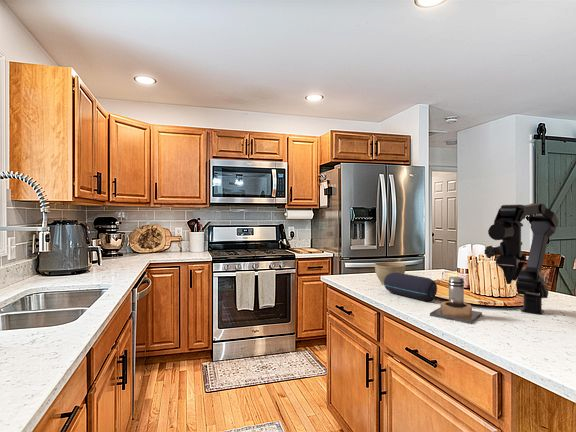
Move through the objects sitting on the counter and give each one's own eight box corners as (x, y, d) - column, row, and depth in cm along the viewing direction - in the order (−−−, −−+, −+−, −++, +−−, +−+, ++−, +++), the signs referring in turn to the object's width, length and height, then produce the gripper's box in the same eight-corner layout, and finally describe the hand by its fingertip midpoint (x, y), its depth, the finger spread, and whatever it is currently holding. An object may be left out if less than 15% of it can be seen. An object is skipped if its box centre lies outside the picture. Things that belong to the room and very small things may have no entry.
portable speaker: (441, 301, 151) (441, 278, 151) (427, 304, 146) (427, 280, 146) (395, 290, 172) (395, 270, 172) (381, 293, 167) (381, 272, 167)
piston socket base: (443, 308, 140) (443, 298, 139) (482, 314, 130) (482, 304, 130) (429, 315, 129) (429, 305, 129) (470, 323, 120) (470, 312, 120)
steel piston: (456, 310, 133) (456, 276, 133) (467, 313, 128) (467, 278, 128) (445, 311, 131) (445, 277, 131) (456, 315, 126) (456, 279, 126)
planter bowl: (368, 282, 192) (368, 262, 192) (394, 280, 197) (394, 261, 197) (385, 288, 177) (385, 267, 177) (412, 286, 181) (412, 265, 181)
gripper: (493, 237, 138) (493, 276, 138) (479, 239, 125) (479, 282, 125) (526, 238, 130) (526, 279, 130) (516, 241, 117) (516, 287, 117)
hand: (511, 282), depth 126 cm, fingers open, 9 cm apart
